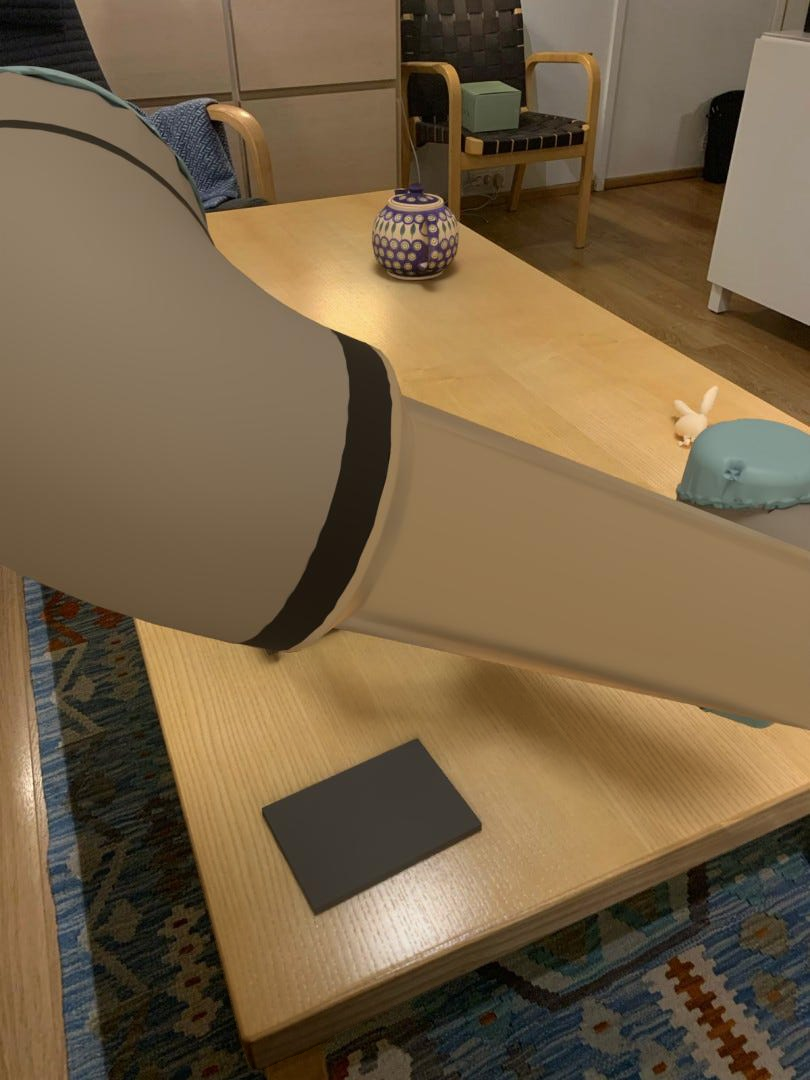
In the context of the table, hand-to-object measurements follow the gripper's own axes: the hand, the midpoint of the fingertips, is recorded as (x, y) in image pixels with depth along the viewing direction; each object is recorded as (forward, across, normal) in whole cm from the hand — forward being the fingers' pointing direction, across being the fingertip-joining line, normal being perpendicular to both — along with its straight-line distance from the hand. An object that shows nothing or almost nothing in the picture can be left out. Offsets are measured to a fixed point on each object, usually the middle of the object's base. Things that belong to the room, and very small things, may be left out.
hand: (338, 497), depth 72 cm
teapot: (+48, +80, -14) cm, 94 cm away
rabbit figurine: (-13, +52, -14) cm, 55 cm away
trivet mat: (-15, -16, -13) cm, 26 cm away
